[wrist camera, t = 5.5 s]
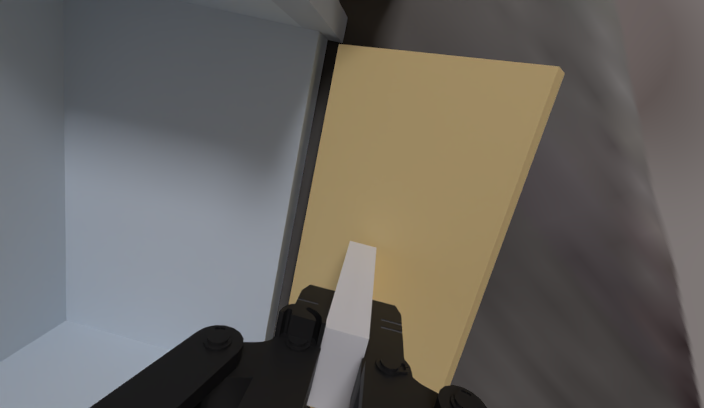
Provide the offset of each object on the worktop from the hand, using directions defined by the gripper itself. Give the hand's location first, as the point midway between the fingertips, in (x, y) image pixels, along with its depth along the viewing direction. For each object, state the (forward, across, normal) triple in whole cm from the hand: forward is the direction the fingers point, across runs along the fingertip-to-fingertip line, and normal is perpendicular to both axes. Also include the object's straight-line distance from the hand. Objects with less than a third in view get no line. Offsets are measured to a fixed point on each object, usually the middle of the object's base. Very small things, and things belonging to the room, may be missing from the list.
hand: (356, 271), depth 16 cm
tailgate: (+4, -3, 0) cm, 5 cm away
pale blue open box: (+5, -11, 0) cm, 12 cm away
